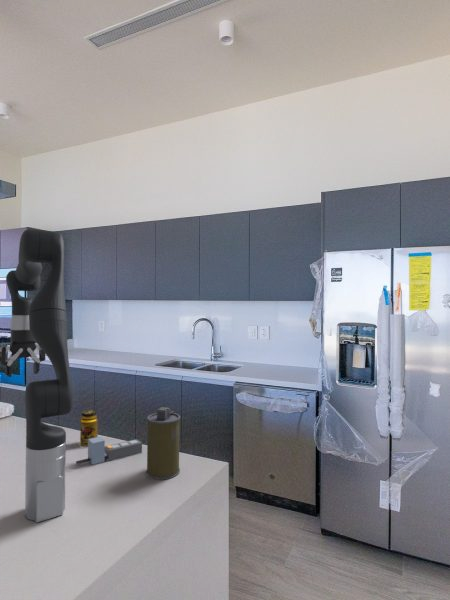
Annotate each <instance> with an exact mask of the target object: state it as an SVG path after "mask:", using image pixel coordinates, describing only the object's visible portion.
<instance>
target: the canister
mask: <svg viewBox="0 0 450 600" xmlns="http://www.w3.org/2000/svg"><path fill="white" fill-rule="evenodd" d="M180 419H181V416H180V414H178V413H176V411H171V407H165V406H164V407H163V406H161V407H160V408H158V409H157V410H156V412H155V413H151V414H149V415H148V416H147V417H146V420H147V439H146V440H147V441H146V442H147V444H146V445H147V446H146V447H147V449H146V451H147V452H146V455H147V456H146V460H147V463H146V464H147V465H146V472H145V473H146V476H148V477H149V478H151V479H154V480H167V479H172V478H174V477H176V476H178V475H179V474H180V471H181V470H180V422H181V421H180Z"/></svg>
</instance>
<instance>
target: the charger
mask: <svg viewBox="0 0 450 600" xmlns="http://www.w3.org/2000/svg"><path fill="white" fill-rule="evenodd" d="M105 443H106V441H105V439H103V437H101V436H98V437H96V438H91V439H88V447H87V458H84V459H80V460H77V461H75V464H76V465H78V464H83V463H88V462H89V463H90V464H91V465H97V464H100V463H101V464H102V463H104V462H105V457H104V456H107V454H106V453H105V446H106V444H105Z"/></svg>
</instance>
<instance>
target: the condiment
mask: <svg viewBox="0 0 450 600" xmlns="http://www.w3.org/2000/svg"><path fill="white" fill-rule="evenodd" d="M97 414H98V413H97V411H96V410H91V409H89V410H85V411H82V412H81V419H80V438H79V439H78V440H76V442H77V444H78V446H79V447H80V449H83V448H84V449H85V448H88V439H91V438H96V437H99V436H98V428H99V426H98V423H99V422H98V418H97V416H98V415H97Z"/></svg>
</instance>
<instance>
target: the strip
mask: <svg viewBox="0 0 450 600" xmlns="http://www.w3.org/2000/svg"><path fill="white" fill-rule="evenodd" d="M105 453H106V454H107V456H104V459H105V460H107V461H108V462H111V461H115V460H119V459H123V458H127V457H131V456H135V455H139V454H143V442H141V441H140V440H139V439H131V440H126V441H123V442H117V443H114V444H113V443H112V444H109V445H105Z"/></svg>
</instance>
